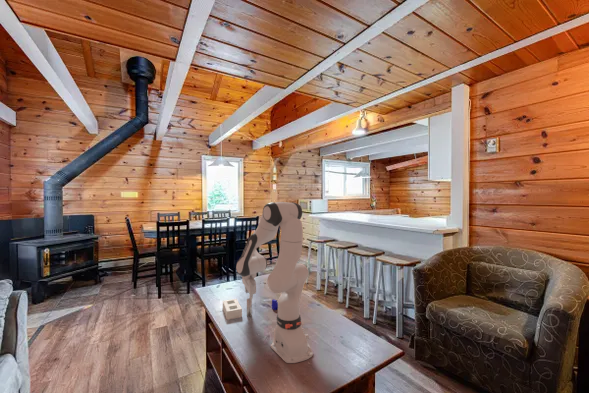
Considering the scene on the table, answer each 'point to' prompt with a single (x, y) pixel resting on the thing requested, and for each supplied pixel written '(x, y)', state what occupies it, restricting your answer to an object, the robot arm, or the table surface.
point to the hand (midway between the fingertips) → (248, 295)
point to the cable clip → (274, 304)
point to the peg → (249, 307)
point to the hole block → (232, 309)
